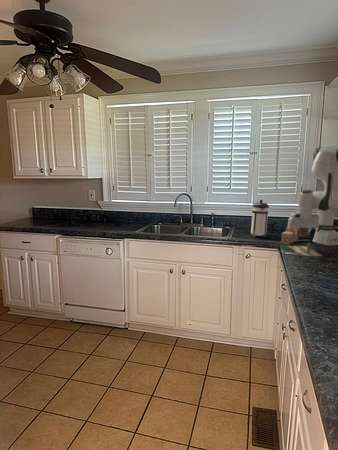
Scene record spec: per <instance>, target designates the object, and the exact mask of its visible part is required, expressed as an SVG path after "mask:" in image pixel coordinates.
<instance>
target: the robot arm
mask: <svg viewBox="0 0 338 450" xmlns="http://www.w3.org/2000/svg"><path fill="white" fill-rule="evenodd" d="M312 158H313V162H312V166H311V171H310V172H311V175H312V176H313V177H314V178H315V179H317V180H319V181H321V182H322V185H324V190H318V191H313V190H311V189H303V190H301V191H300V193H299V197H298V207H297V211H293V212H290V213H289V217H288V219H287V220H288V221H287V227H289V228H294V230H295V234H296V235H298V233H299V232H297V228H299V229H307V231H309V234H310V233H311V231H312V230H313V229H315V230H314V231H315V232H314V235H313V239H312V243H316V244H319V245H325V246H338V231H336V230H337V229H338V226H337V225H334V219H335V215H334V213H333V212H332V211H330V210H329V209H331V208H338V146H325V147H317V148H316V149H315V150H314V151H313V153H312ZM313 210H316V214H313Z"/></svg>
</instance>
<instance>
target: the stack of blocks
mask: <svg viewBox="0 0 338 450" xmlns="http://www.w3.org/2000/svg"><path fill="white" fill-rule="evenodd" d="M297 229H300V228H297ZM298 241H299V236H297V235H296V234H295V230H294V228H289V227H288V226H286V228H285V231H284V232H282V233H281V237H280V244H284V245H287V246H290V245H291V244H293V243H295V242H298Z"/></svg>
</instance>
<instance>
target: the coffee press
mask: <svg viewBox="0 0 338 450" xmlns="http://www.w3.org/2000/svg"><path fill="white" fill-rule="evenodd" d="M269 208H270V206H269V204H268V203H267V202H263V199H259V202H254V203H253V205H252V210H251V212H252V214H251V226H250V227H251V228H250V232H249V233H250V235H251V237H252V238H255V237H256V236H259V237H263V238H264V237H265V238H267V226H268V216H269ZM265 238H264V239H265Z"/></svg>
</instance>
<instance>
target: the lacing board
mask: <svg viewBox="0 0 338 450" xmlns="http://www.w3.org/2000/svg"><path fill="white" fill-rule="evenodd" d="M311 247H312V243H311V242H307V245H287V248H289V249H290V250H293V251H294V252H295V253H296V254H298V255H299V258H305V259H324V255H323V254H321V253H319V252H317V251H316V250H314V249H313V248H311Z"/></svg>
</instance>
